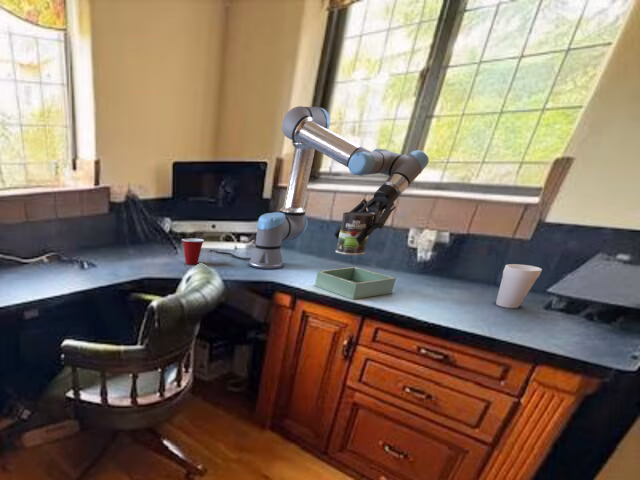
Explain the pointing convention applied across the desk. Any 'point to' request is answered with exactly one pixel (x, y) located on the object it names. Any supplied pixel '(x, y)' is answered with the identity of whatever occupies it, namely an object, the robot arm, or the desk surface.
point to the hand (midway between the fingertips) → (346, 238)
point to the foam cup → (516, 284)
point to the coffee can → (353, 233)
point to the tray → (355, 282)
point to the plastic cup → (192, 250)
